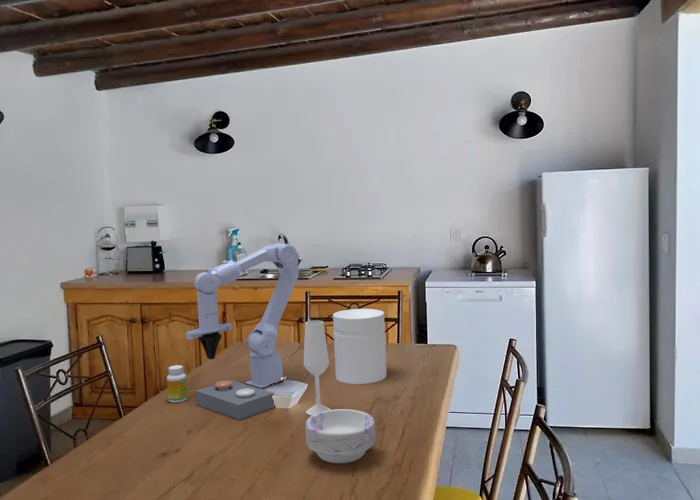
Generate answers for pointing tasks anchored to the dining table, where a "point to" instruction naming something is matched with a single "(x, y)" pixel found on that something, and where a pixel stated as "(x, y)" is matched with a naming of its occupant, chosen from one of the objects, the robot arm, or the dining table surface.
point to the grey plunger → (244, 393)
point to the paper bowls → (340, 434)
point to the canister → (359, 346)
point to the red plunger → (223, 385)
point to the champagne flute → (315, 358)
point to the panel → (235, 400)
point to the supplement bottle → (177, 384)
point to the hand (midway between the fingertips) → (211, 358)
